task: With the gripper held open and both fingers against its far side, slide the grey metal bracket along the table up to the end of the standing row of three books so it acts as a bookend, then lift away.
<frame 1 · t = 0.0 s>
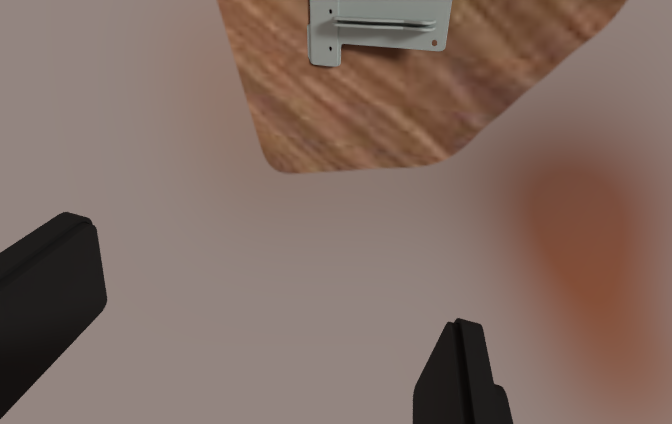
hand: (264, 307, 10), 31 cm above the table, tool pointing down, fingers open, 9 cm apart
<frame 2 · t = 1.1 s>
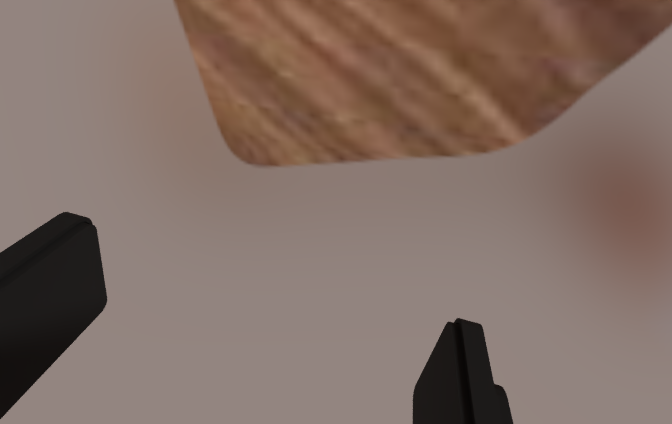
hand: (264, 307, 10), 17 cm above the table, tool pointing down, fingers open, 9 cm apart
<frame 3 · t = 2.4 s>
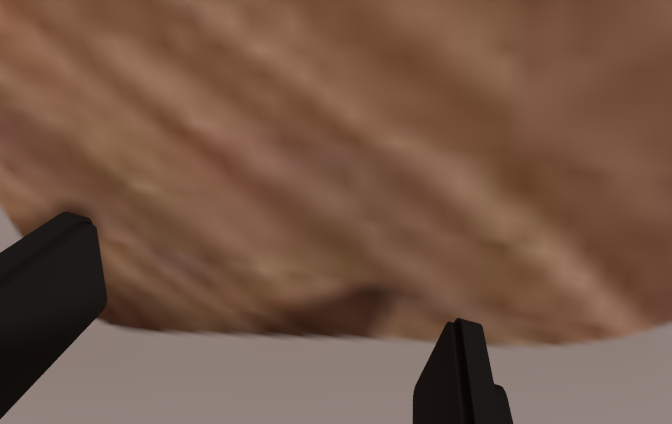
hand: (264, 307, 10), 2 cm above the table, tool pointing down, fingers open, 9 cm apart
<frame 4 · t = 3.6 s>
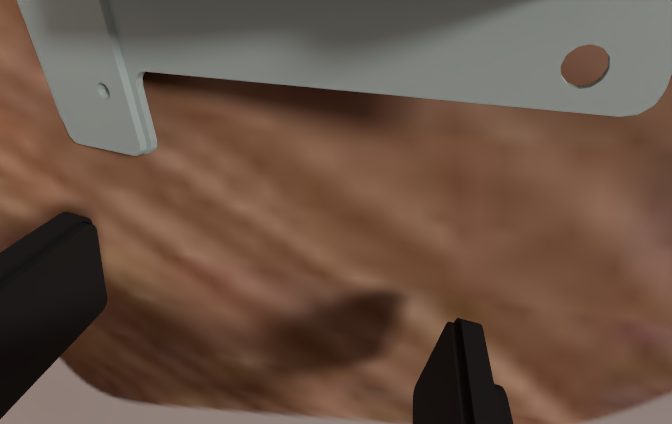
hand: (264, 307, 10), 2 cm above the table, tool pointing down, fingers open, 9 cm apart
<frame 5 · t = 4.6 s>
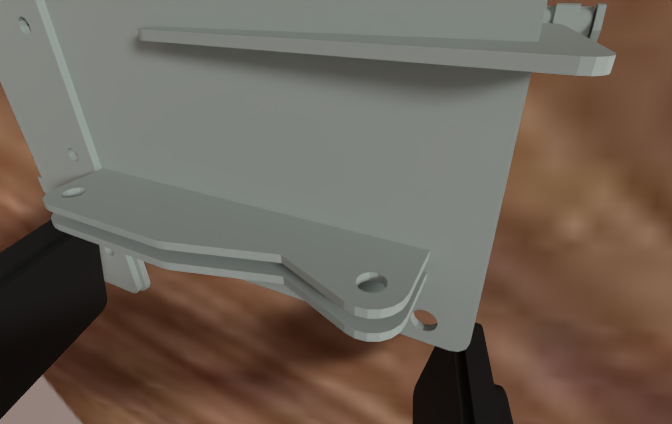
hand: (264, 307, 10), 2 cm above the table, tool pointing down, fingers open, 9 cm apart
metal bracket: (234, 20, 9), on the table
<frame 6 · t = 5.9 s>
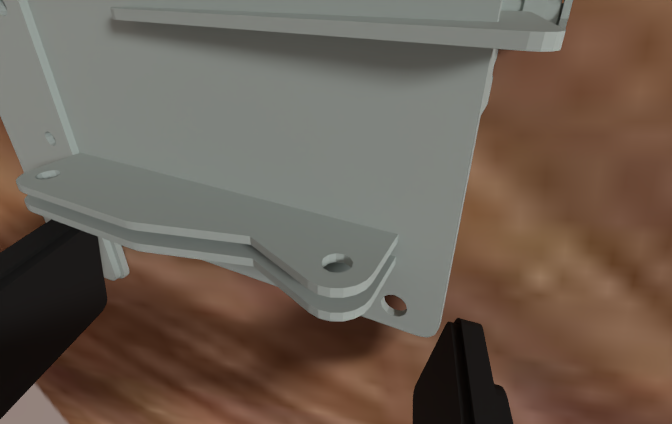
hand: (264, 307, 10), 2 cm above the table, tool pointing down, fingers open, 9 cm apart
metal bracket: (213, 5, 9), on the table
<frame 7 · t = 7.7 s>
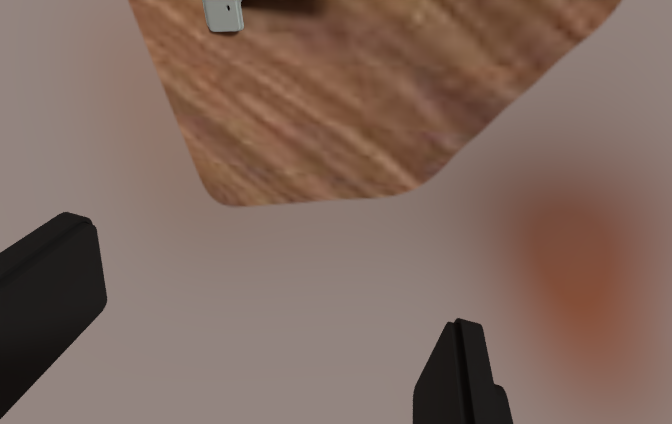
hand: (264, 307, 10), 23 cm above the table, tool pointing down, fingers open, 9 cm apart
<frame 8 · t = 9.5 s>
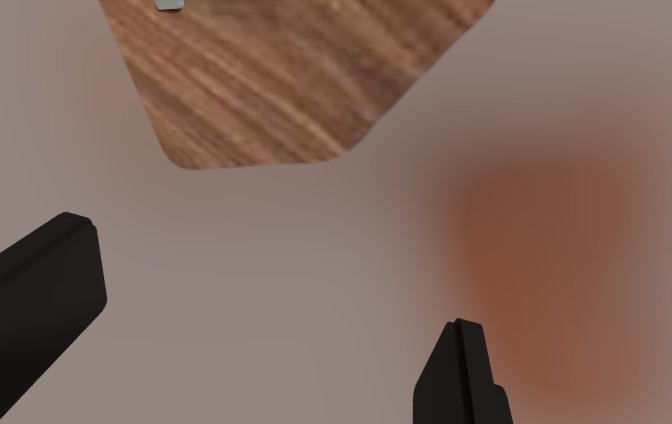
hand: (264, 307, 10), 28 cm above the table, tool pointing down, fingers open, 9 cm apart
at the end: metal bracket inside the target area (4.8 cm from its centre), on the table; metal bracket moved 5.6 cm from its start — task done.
